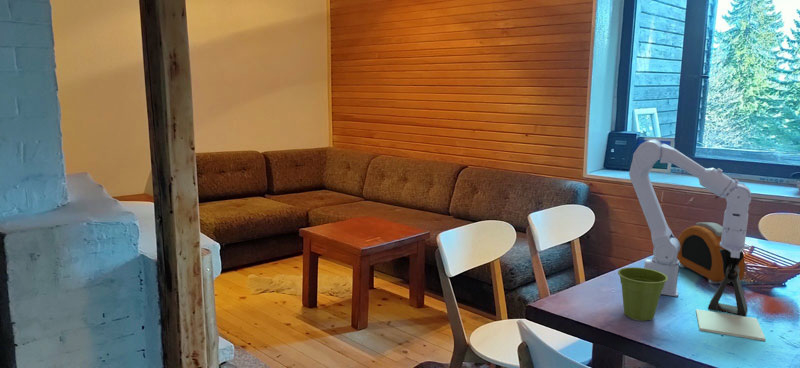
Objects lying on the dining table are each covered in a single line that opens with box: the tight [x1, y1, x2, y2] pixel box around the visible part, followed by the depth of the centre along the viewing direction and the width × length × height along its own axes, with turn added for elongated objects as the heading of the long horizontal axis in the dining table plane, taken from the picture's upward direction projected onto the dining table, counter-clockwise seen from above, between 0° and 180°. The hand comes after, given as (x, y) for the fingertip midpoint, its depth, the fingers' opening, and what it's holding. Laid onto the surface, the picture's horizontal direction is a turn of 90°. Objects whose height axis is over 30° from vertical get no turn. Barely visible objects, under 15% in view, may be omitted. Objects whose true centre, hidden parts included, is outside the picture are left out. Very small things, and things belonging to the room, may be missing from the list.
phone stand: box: [707, 264, 749, 317], centre depth 161 cm, size 9×6×12 cm, turn 56°
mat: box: [695, 308, 766, 342], centre depth 151 cm, size 14×14×1 cm
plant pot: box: [617, 266, 668, 322], centre depth 154 cm, size 12×12×11 cm
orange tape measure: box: [677, 221, 746, 284], centre depth 190 cm, size 23×9×17 cm, turn 6°
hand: (728, 276), depth 166 cm, fingers closed
